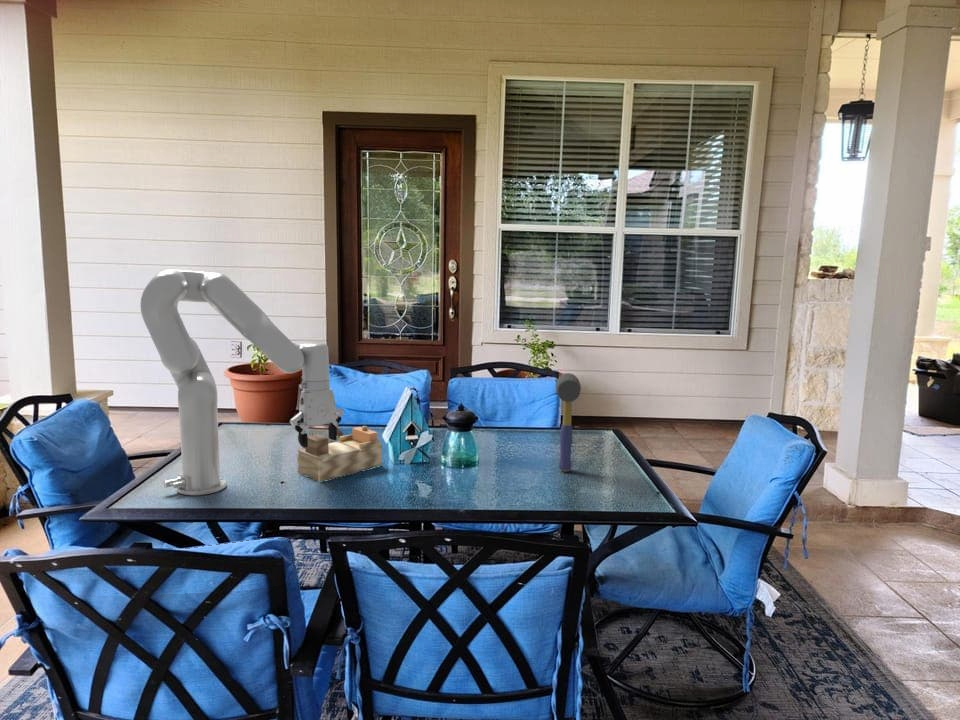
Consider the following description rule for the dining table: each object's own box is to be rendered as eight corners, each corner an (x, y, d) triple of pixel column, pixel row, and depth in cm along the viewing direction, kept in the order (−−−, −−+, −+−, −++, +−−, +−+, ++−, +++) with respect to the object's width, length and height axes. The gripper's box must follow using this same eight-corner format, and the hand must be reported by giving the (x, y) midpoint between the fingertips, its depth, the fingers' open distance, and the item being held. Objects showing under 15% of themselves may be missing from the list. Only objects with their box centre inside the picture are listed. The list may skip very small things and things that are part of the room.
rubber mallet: (577, 478, 196) (582, 379, 191) (552, 476, 197) (556, 378, 192) (576, 465, 208) (580, 372, 204) (552, 464, 209) (556, 371, 205)
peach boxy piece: (369, 445, 200) (369, 430, 200) (352, 439, 206) (352, 424, 206) (377, 443, 202) (377, 428, 202) (360, 437, 209) (360, 423, 208)
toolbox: (319, 482, 187) (319, 454, 186) (297, 472, 195) (297, 445, 194) (381, 466, 203) (381, 439, 202) (358, 458, 211) (358, 432, 210)
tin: (343, 449, 220) (343, 425, 219) (341, 452, 217) (340, 427, 216) (300, 447, 221) (299, 423, 220) (296, 450, 218) (296, 425, 217)
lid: (319, 462, 187) (319, 443, 186) (298, 453, 194) (297, 435, 194) (359, 452, 196) (358, 435, 195) (336, 444, 204) (336, 427, 203)
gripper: (296, 391, 181) (299, 451, 183) (348, 383, 193) (350, 439, 196) (282, 387, 186) (285, 446, 189) (334, 379, 198) (336, 434, 201)
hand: (318, 442), depth 192 cm, fingers open, 9 cm apart
